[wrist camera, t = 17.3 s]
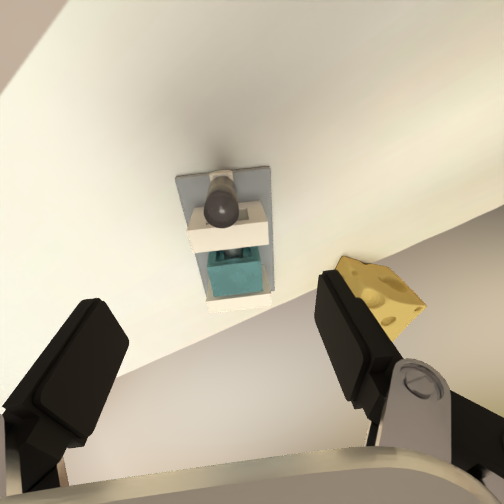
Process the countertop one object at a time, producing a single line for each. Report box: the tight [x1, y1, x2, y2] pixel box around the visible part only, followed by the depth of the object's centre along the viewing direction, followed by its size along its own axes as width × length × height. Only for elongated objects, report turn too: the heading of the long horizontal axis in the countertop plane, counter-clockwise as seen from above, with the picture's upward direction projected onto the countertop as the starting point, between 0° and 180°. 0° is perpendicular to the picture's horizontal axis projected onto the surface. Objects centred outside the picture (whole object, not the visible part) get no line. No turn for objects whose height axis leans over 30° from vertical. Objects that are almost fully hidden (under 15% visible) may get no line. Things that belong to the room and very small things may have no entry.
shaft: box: [204, 170, 243, 260], centre depth 27 cm, size 18×3×8 cm, turn 5°
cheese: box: [335, 256, 427, 341], centre depth 38 cm, size 10×11×10 cm
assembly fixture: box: [175, 167, 275, 314], centre depth 32 cm, size 21×12×8 cm, turn 5°
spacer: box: [207, 246, 263, 297], centre depth 31 cm, size 5×7×7 cm
